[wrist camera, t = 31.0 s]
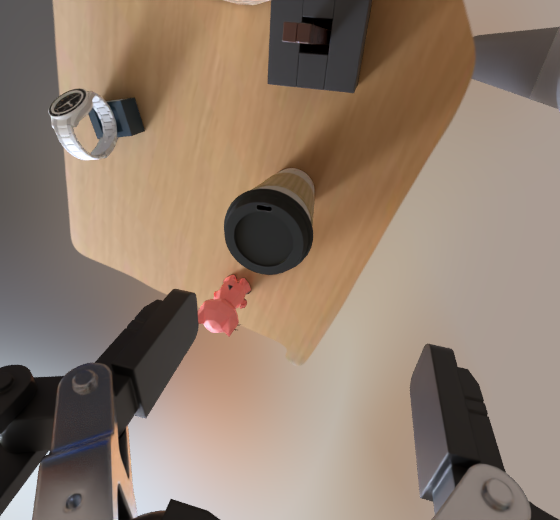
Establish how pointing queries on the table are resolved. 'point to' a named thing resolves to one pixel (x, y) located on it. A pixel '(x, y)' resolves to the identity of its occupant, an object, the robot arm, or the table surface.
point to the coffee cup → (272, 223)
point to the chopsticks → (305, 33)
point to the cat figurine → (224, 306)
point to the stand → (318, 65)
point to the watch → (94, 121)
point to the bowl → (247, 1)
